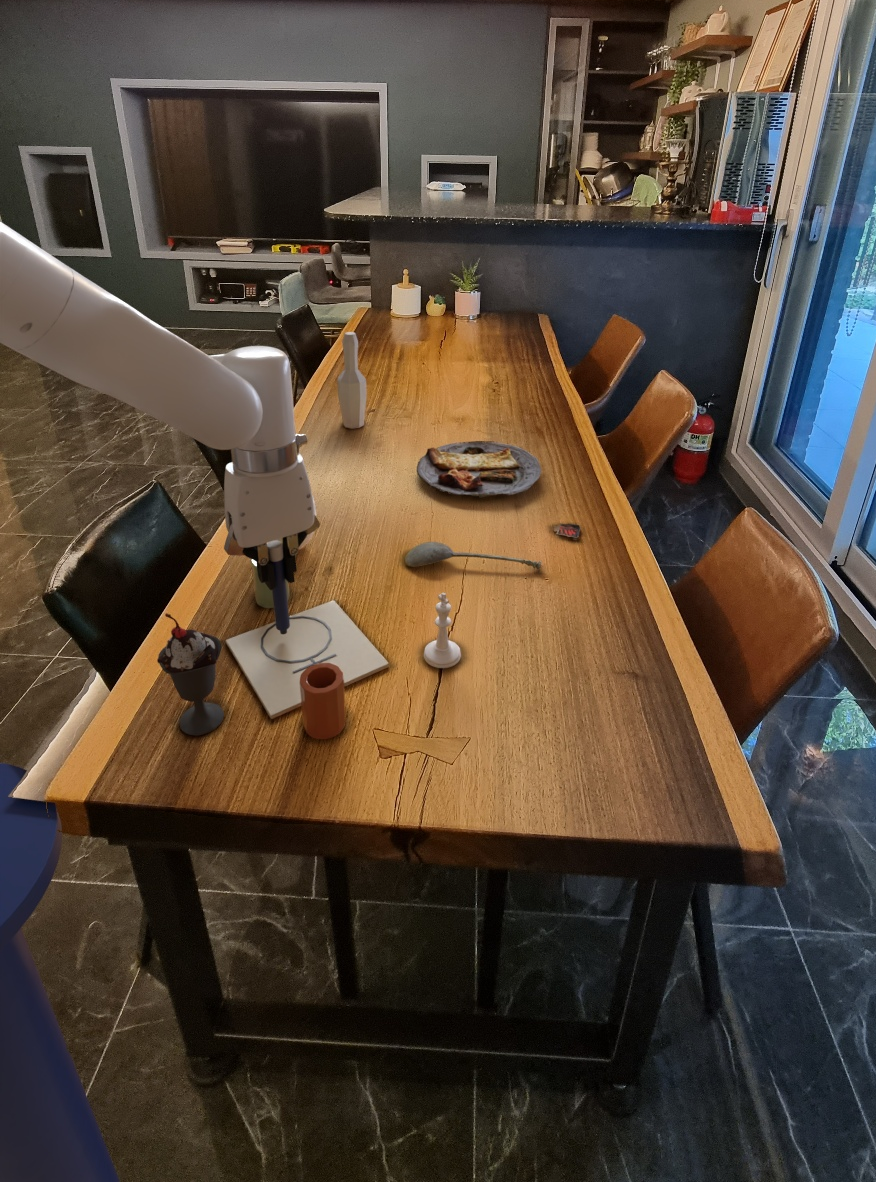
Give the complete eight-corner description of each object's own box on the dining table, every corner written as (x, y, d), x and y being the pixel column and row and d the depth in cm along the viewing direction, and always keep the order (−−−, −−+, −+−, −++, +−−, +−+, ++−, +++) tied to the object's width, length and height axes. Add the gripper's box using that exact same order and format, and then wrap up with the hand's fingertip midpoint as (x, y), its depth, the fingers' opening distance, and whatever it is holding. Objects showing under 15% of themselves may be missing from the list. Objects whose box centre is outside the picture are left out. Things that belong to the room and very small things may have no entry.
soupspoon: (408, 550, 116) (401, 574, 110) (408, 533, 114) (400, 557, 109) (540, 558, 113) (540, 583, 108) (541, 541, 112) (541, 565, 106)
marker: (279, 639, 92) (270, 550, 86) (274, 631, 93) (264, 543, 87) (293, 633, 93) (284, 545, 87) (287, 626, 94) (278, 538, 88)
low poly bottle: (334, 423, 163) (329, 332, 154) (356, 417, 167) (353, 328, 158) (349, 432, 159) (346, 338, 150) (372, 425, 163) (369, 334, 153)
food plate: (415, 503, 129) (415, 486, 128) (417, 451, 150) (417, 436, 149) (548, 503, 130) (549, 487, 129) (531, 451, 151) (532, 437, 150)
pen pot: (314, 746, 78) (310, 699, 75) (297, 718, 81) (293, 673, 79) (352, 727, 80) (350, 681, 78) (334, 702, 84) (331, 657, 81)
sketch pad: (271, 719, 81) (270, 715, 81) (226, 643, 93) (225, 639, 93) (389, 666, 90) (389, 662, 89) (334, 603, 102) (333, 599, 101)
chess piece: (437, 673, 89) (438, 610, 85) (416, 652, 92) (416, 590, 88) (468, 658, 92) (470, 596, 87) (446, 638, 95) (448, 578, 91)
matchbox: (579, 525, 123) (579, 522, 123) (582, 540, 119) (582, 538, 118) (552, 524, 123) (552, 521, 123) (555, 539, 119) (555, 537, 119)
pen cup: (263, 612, 99) (258, 571, 96) (251, 595, 103) (246, 555, 100) (294, 601, 102) (291, 561, 99) (282, 584, 105) (278, 545, 102)
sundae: (170, 706, 83) (150, 604, 76) (228, 692, 85) (214, 592, 79) (171, 748, 77) (149, 642, 71) (233, 732, 79) (218, 628, 73)
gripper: (313, 427, 89) (322, 549, 96) (186, 456, 80) (207, 586, 88) (339, 448, 83) (346, 575, 91) (207, 481, 75) (227, 618, 83)
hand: (278, 580), depth 89 cm, fingers closed on marker, 2 cm apart
